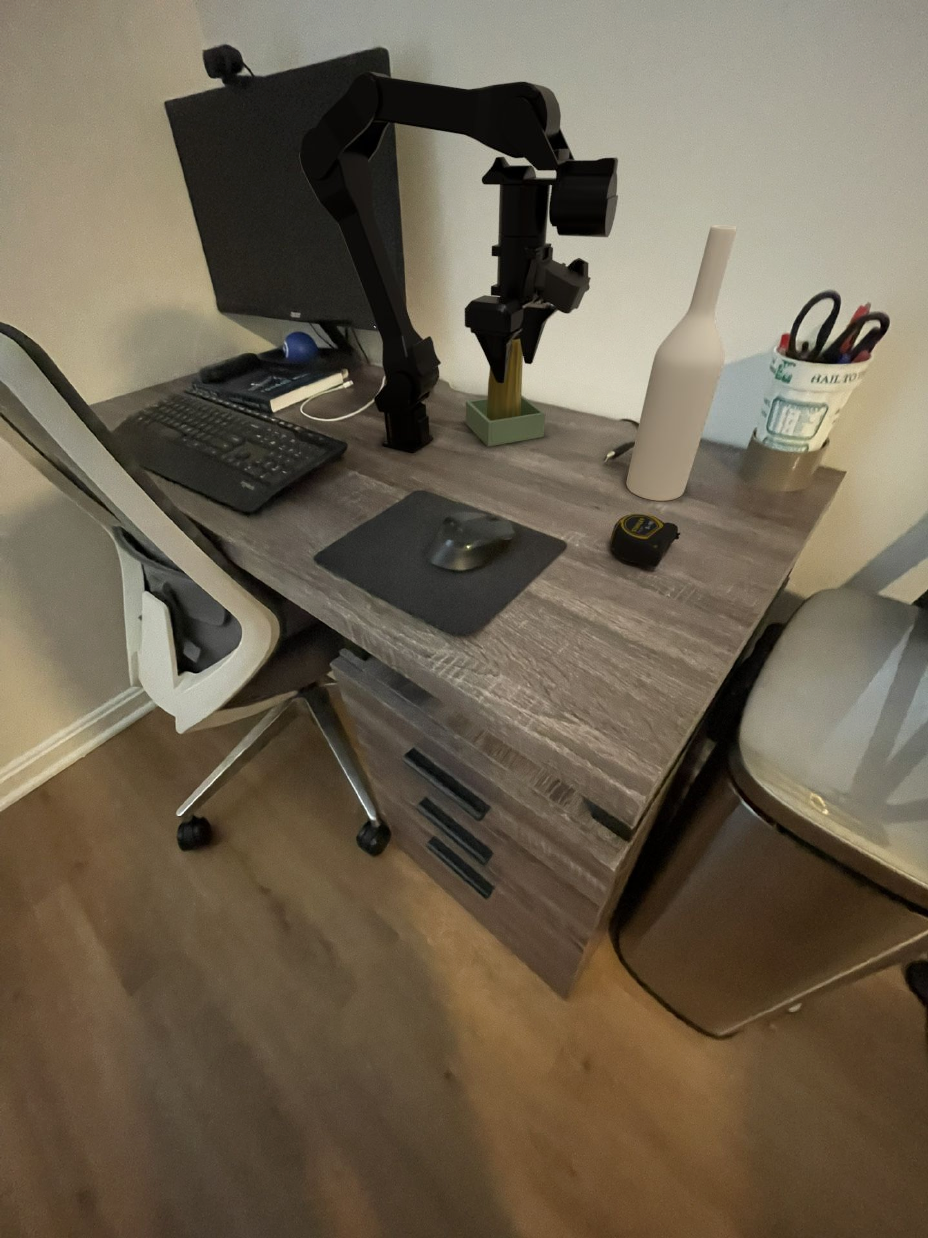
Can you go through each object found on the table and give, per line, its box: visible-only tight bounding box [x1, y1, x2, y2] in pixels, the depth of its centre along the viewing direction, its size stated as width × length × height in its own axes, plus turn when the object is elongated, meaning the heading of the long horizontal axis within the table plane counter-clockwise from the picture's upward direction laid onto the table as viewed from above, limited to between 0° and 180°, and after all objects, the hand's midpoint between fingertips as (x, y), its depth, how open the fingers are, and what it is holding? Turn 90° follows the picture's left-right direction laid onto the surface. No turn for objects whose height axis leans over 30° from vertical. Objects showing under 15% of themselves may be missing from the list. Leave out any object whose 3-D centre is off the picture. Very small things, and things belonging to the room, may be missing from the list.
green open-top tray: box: [465, 394, 546, 447], centre depth 88 cm, size 10×10×4 cm
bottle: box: [625, 224, 738, 502], centre depth 64 cm, size 8×8×30 cm
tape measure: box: [610, 513, 682, 568], centre depth 61 cm, size 7×7×4 cm
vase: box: [487, 334, 524, 421], centre depth 84 cm, size 6×6×14 cm
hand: (515, 372), depth 72 cm, fingers open, 9 cm apart
